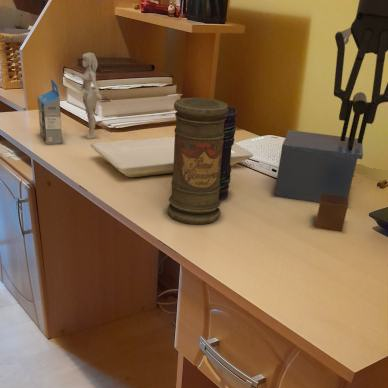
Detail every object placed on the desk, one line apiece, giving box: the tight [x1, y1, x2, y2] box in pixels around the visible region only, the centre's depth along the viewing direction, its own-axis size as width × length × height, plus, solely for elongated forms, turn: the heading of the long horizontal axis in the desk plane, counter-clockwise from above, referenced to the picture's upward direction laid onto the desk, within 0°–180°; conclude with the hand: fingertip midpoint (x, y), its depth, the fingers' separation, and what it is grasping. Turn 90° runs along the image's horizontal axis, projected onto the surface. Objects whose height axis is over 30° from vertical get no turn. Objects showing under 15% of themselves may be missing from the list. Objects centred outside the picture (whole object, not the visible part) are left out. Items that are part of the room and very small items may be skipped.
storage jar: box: [219, 105, 238, 202], centre depth 94 cm, size 10×10×15 cm
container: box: [167, 97, 229, 225], centre depth 84 cm, size 9×9×18 cm
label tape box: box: [37, 78, 63, 145], centre depth 118 cm, size 9×4×12 cm, turn 23°
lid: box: [281, 91, 368, 160], centre depth 95 cm, size 14×12×9 cm
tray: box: [89, 135, 254, 178], centre depth 111 cm, size 17×31×4 cm, turn 119°
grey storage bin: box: [274, 148, 358, 204], centre depth 101 cm, size 14×12×9 cm
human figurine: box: [79, 51, 104, 139], centre depth 120 cm, size 12×4×18 cm, turn 29°
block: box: [314, 193, 349, 232], centre depth 89 cm, size 4×4×4 cm
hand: (351, 140), depth 96 cm, fingers closed on lid, 2 cm apart
